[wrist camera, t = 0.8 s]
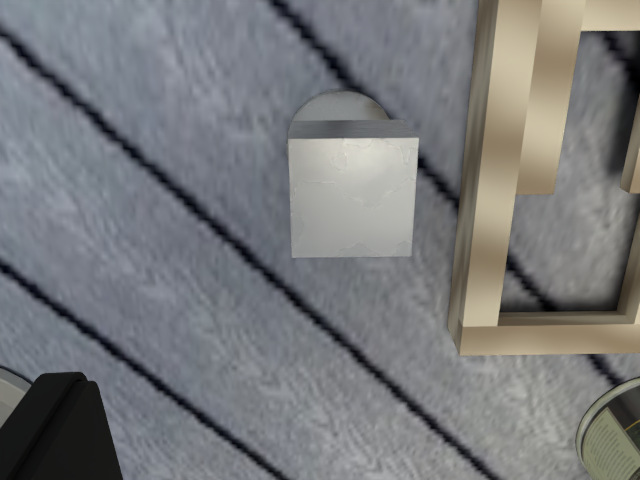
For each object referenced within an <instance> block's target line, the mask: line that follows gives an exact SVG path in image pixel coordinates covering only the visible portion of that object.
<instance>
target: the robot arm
mask: <svg viewBox="0 0 640 480" xmlns="http://www.w3.org/2000/svg"><path fill="white" fill-rule="evenodd" d="M0 480H123V477H122V474H121V470H120V466H119V462H118V459H117V455H116V451H115V447H114V444H113V440H112V436H111V432H110V429H109V425H108V421H107V417H106V413H105V410H104V406H103V402H102V398H101V395H100V391H99V388H98V385H97V383H96V382H95V381H88V380H87V378H86V376H85V375H84V374H83V373H81V372H63V373H45V374H42V375H40V376H39V377H38V378H37V379H36V380H35V381H34V383H33V384H32V385H31V384H29V383H28V382H26V381H25V380H23V379H22V378H20V377H18V376H16V375H14V374H12V373H10V372H8V371H6V370H4V369H1V368H0Z"/></svg>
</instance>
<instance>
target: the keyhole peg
mask: <svg viewBox="0 0 640 480" xmlns="http://www.w3.org/2000/svg"><path fill="white" fill-rule="evenodd" d="M418 144H419V137H418V136H417V135H416V134H415V132H414V131H413V130H412V129H411V127H410V126H409V125H408V124H407V123H406V121H405V120H390V119H389V117H388V116H387V114H386V113H385V111H384V110H383V109H382V108H381V106H380V105H379V104H378V103H377V102H375V101H374V100H373V99H371V98H370V97H368V96H367V95H365V94H363V93H360V92H357V91H353V90H348V89H335V90H330V91H325V92H323V93H320V94H318V95H316V96H314V97H312V98H311V99H309V100H308V101H307V102H306V103H304V104H303V105H302V106H301V107H300V109H299V110H298V111H297V112H296V114H295V116H294V117H293V119H292V121H291V123H290V126H289V130H288V134H287V140H286V155H287V160H288V164H289V179H290V214H291V248H292V258H316V257H393V256H411V252H412V237H413V221H414V206H415V190H416V175H417V159H418Z"/></svg>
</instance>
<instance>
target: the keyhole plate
mask: <svg viewBox="0 0 640 480" xmlns="http://www.w3.org/2000/svg"><path fill="white" fill-rule="evenodd" d="M632 30H640V0H479V7H478V17H477V27H476V37H475V48H474V58H473V68H472V78H471V89H470V99H469V109H468V119H467V129H466V140H465V150H464V160H463V170H462V181H461V191H460V201H459V211H458V222H457V232H456V242H455V252H454V262H453V273H452V283H451V293H450V303H449V314H448V324H447V327H448V330H449V332H450V334H451V337H452V339H453V341H454V344H455V346H456V349H457V351H458V353H459V356H472V355H536V354H600V353H640V212H639V217H638V221H637V225H636V229H635V234H634V238H633V242H632V247H631V251H630V255H629V259H628V264H627V268H626V272H625V276H624V281H623V285H622V289H621V293H620V298H619V302H618V306H617V311H571V312H502V313H499V310H500V302H501V295H502V288H503V281H504V274H505V266H506V259H507V252H508V245H509V238H510V230H511V223H512V216H513V209H514V202H515V195H532V194H554V188H555V182H556V176H557V170H558V164H559V158H560V152H561V146H562V140H563V134H564V128H565V123H566V117H567V111H568V105H569V99H570V93H571V87H572V81H573V75H574V69H575V63H576V57H577V51H578V45H579V39H580V33H581V31H632ZM620 188H621V189H623V190H625V191H626V192H628V193H640V95H639V100H638V104H637V109H636V114H635V118H634V123H633V128H632V132H631V137H630V142H629V146H628V151H627V156H626V160H625V165H624V169H623V174H622V179H621V183H620Z"/></svg>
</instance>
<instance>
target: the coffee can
mask: <svg viewBox="0 0 640 480" xmlns="http://www.w3.org/2000/svg"><path fill="white" fill-rule="evenodd" d="M576 448H577V453H578V457H579V459H580V461H581V463H582V465H583V466H584V467H585V469H586V470H587V471H588V473H589V474H590V476H591V478H592V479H593V480H640V378H636V379H633V380H630V381H627V382H625V383H623V384H621V385H619V386H617V387H615V388H614V389H612V390H610V391H609V392H607V393H606V394H605V395H603V396H602V397H601V398H600V399H598V400H597V401H596V402H595V403H594V404H593V406H592V407H591V408H590V409H589V410H588V412H587V413H586V414H585V416H584V418H583V419H582V422H581V424H580V426H579V429H578V433H577V438H576Z"/></svg>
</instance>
